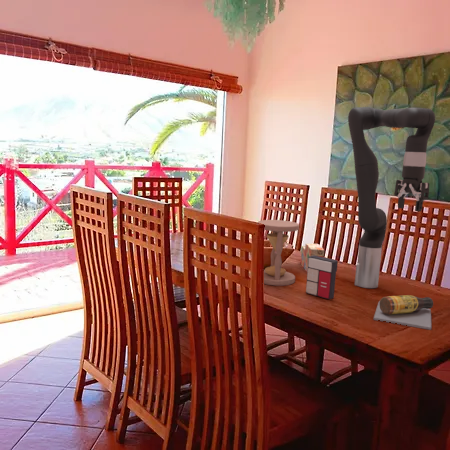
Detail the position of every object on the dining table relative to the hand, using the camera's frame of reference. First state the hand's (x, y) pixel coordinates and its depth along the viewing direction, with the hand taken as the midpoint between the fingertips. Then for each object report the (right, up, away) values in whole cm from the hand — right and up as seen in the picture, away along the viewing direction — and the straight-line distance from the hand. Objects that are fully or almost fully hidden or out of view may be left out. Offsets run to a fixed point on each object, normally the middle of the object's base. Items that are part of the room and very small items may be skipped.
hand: (409, 209), depth 169 cm
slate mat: (-5, -37, -6) cm, 38 cm away
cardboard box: (-26, -27, +53) cm, 65 cm away
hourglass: (-46, -30, +32) cm, 63 cm away
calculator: (-30, -33, +12) cm, 47 cm away
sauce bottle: (-12, -34, -9) cm, 37 cm away
